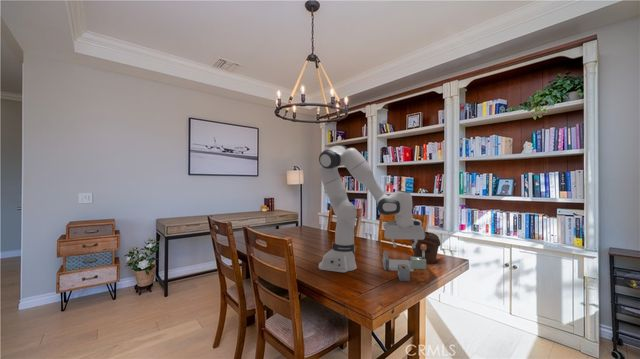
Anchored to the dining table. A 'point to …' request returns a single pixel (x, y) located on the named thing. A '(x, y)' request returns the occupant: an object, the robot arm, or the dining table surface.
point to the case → (427, 247)
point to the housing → (403, 272)
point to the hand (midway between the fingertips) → (404, 247)
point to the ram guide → (418, 263)
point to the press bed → (394, 263)
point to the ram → (423, 248)
